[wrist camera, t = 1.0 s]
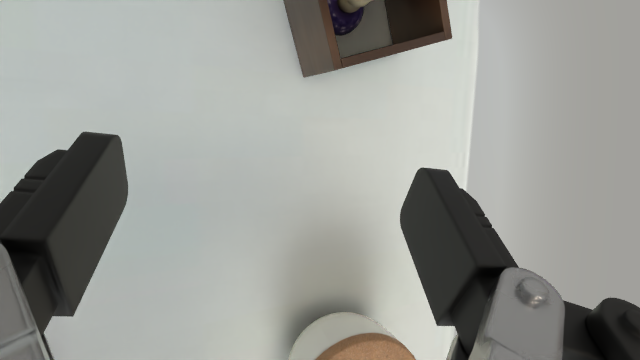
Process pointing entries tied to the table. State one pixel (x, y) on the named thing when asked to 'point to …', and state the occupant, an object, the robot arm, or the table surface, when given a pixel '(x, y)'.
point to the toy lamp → (346, 14)
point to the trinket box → (347, 340)
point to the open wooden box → (407, 33)
